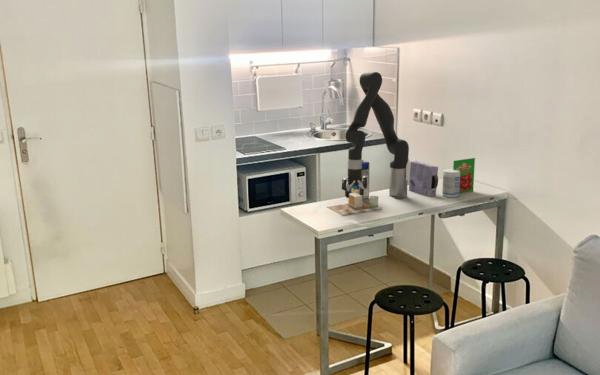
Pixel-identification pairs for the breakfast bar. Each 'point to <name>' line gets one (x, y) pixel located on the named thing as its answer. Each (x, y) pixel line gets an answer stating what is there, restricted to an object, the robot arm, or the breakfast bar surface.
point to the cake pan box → (423, 178)
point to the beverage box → (364, 173)
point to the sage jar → (373, 201)
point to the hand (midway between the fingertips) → (354, 196)
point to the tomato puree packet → (465, 174)
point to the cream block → (355, 200)
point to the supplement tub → (451, 183)
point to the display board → (353, 208)
